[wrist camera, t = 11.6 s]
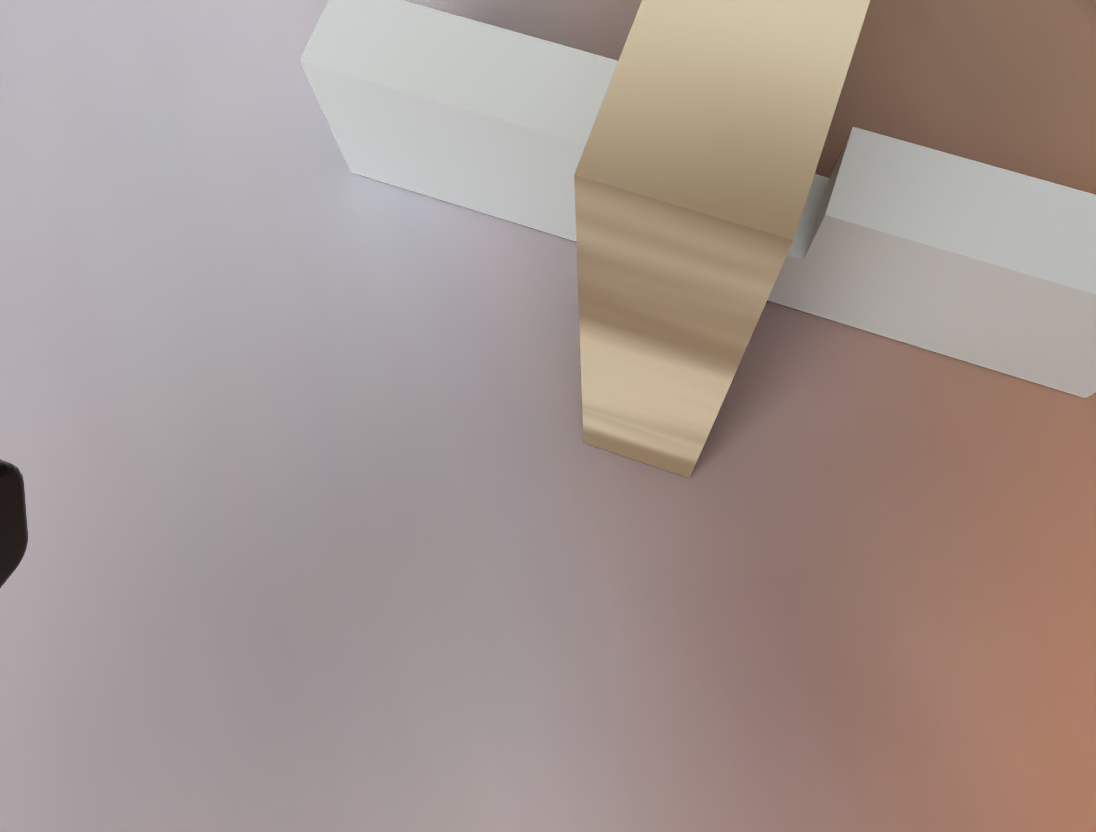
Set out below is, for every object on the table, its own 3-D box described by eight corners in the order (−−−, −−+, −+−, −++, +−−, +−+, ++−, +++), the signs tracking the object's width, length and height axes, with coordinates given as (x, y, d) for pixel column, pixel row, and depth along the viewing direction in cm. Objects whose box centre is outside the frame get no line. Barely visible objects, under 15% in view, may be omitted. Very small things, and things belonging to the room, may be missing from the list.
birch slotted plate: (689, 478, 22) (793, 240, 11) (583, 442, 23) (574, 175, 11) (828, 55, 25) (1028, -495, 14) (732, 28, 25) (848, -530, 14)
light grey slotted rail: (1103, 319, 23) (1222, 230, 19) (1085, 398, 22) (1203, 325, 18) (381, 104, 25) (337, -19, 21) (351, 172, 25) (298, 60, 20)
